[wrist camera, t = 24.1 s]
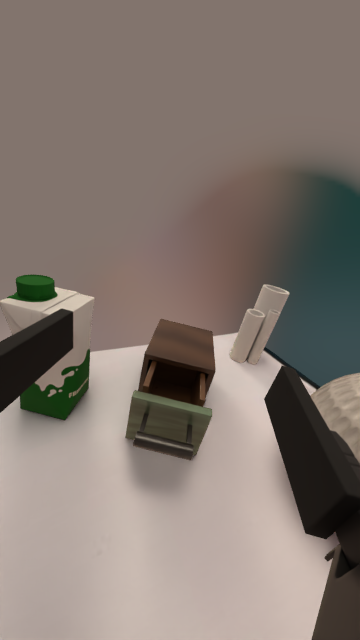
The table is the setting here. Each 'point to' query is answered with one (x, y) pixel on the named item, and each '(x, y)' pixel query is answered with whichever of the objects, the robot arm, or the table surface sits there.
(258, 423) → the table surface
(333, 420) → the vase
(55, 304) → the soya milk
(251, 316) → the vase
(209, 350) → the cabinet
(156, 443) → the drawer
